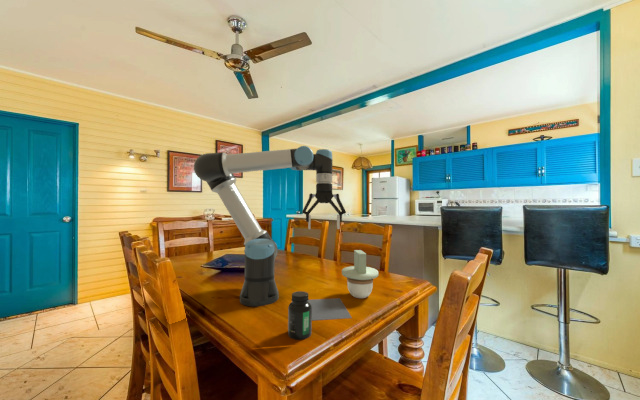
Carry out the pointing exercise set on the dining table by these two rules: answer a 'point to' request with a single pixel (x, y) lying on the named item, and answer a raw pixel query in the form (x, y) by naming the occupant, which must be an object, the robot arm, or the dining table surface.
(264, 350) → the dining table surface
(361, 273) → the lid
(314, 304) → the mat
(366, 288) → the lidded jar
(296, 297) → the supplement bottle
